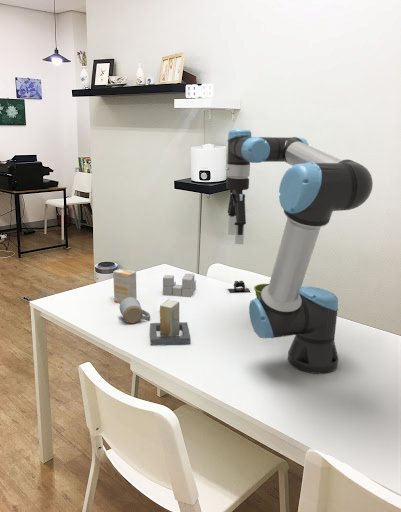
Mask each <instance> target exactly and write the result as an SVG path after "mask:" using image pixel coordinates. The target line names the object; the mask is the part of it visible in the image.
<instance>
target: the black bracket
mask: <svg viewBox="0 0 401 512" xmlns="http://www.w3.org/2000/svg"><path fill="white" fill-rule="evenodd" d="M227 291H228V292H229V294H246V293H248V294H249V293H252V291H251V290H250V289H249V288H247V287H246V284H245V281H244V280H234V283H233V288H228V289H227ZM250 291H251V292H250Z"/></svg>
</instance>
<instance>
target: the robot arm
mask: <svg viewBox="0 0 401 512" xmlns="http://www.w3.org/2000/svg"><path fill="white" fill-rule="evenodd" d="M227 137H228V138H227V160H226V161H227V162H226V163H227V165H226V166H225V171H226V176H227V177H226V186H225V187H226V189H228V190H229V200H228V208H227V214H228V222H227V223H228V227H227V229H228V230H227V234H228V235H229V236H230V235H231V236H232V235H233V236H234V244H235V245H244V238H245V237H244V235H245V225H247V221H246V220H247V218H246V217H247V216H246V203H245V201H246V200H245V199H246V195H245V194H244V192H243V191H246V190H249V188H250V187H249V186H250V178H249V177H250V174H251V163H252V164H253V163H255V164H258V163H266V162H267V163H268V162H269V163H270V162H273V163H274V162H275V163H276V162H278V163H280V162H282V163H283V162H284V163H286V164H288V165H290V167H289V168H288V169H287V170H285V172H284V173H283V177H282V178H281V181H280V183H279V188H278V189H279V190H278V192H279V195H278V198H279V203H280V207H281V209H283V214H284V215H285V217H286V223H285V225H284V230H283V234H282V236H281V237H282V238H281V240H280V244H279V248H278V251H277V254H276V260H275V263H274V264H273V265H274V267H273V270H272V273H271V277H270V279H269V283H268V284H269V285H268V286H266V287H264V288H263V290H262V292H261V295H260V298H259V299H257V297H256V298H253V299H251V300H250V301H249V306H248V314H249V318H250V319H249V320H250V323H251V326H252V329H253V331H254V332H255V335H257V337H259V338H261V339H274V338H282V337H289V336H290V337H291V336H294V337H293V340H292V343H291V345H290V347H289V349H288V351H287V352H288V353H287V361H288V363H289V364H290V365H291V366H292V367H293V368H295V369H297V370H299V371H301V372H302V371H303V372H306V373H310V374H326V373H331V372H333V371H335V370H336V369H337V367H338V366H339V365H338V364H339V355H338V351H337V347H336V342H335V335H336V327H337V326H336V325H337V318H338V317H337V316H338V311H339V298H338V297H337V295H336V294H335V293H334V292H332V291H330V290H327V289H324V288H320V287H315V286H302V285H303V283H304V280H305V275H306V273H307V270H308V267H309V264H310V261H311V258H312V255H313V253H314V250H315V246H316V243H317V240H318V237H319V233H320V231H321V228H322V227H325V226H327V225H328V224H329V223H330V220H331V217H332V215H333V213H334V212H338V211H339V212H340V211H342V212H343V211H350V210H354V209H356V208H359V207H360V206H362V205H364V203H365V202H366V201H367V200H368V199H369V197H370V196H371V193H372V190H373V184H374V183H373V182H374V181H373V177H372V174H371V172H370V171H369V170H368V168H367V167H365V166H364V165H363V164H360V163H359V162H358V161H357V162H356V161H354V160H352V159H339V158H338V157H335V156H333V155H331V154H329V153H326V152H324V151H322V150H319V149H317V148H315V147H313V146H310V145H309V143H308V141H307V139H305V138H304V137H298V136H292V137H285V136H284V137H272V136H267V137H266V136H252V132H251V130H250V129H235V128H233V129H230V130H229V131H228V136H227Z"/></svg>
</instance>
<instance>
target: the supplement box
mask: <svg viewBox="0 0 401 512" xmlns="http://www.w3.org/2000/svg"><path fill="white" fill-rule="evenodd" d="M112 273H113V274H112V275H113V297H114V298H113V299H114V301H113V302H115V303H117V304H121V302H122V301H123V300H124V299H125V298H128V297H133V298H135V299H137V298H138V297H137V272H136V271H134V270H130V269H126V268H125V269H123V268H118V269H116V270H114V271H113V272H112ZM137 300H138V299H137Z"/></svg>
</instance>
